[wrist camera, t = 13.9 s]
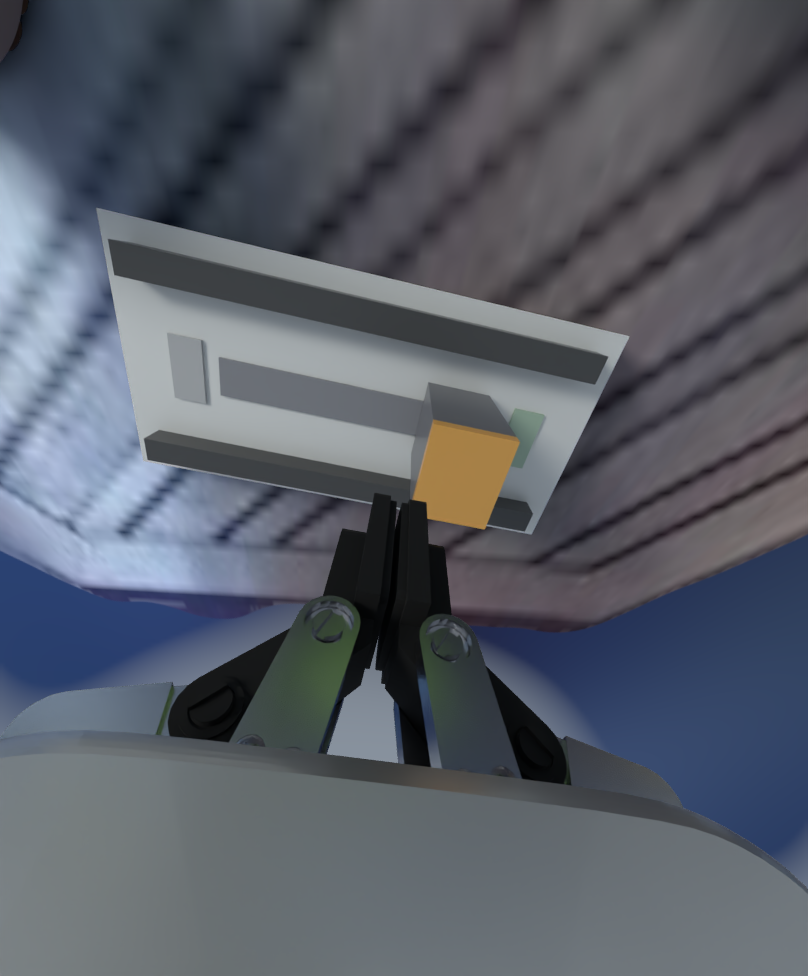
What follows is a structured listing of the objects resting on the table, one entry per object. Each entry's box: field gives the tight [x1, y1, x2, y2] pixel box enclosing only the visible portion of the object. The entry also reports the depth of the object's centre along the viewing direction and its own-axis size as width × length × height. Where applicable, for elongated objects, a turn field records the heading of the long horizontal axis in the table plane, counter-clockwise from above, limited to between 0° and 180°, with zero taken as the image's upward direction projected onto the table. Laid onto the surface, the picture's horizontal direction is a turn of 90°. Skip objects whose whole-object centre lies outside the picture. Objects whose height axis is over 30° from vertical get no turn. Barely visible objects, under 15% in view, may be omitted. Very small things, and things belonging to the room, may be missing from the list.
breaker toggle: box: [410, 382, 520, 529], centre depth 20 cm, size 5×4×8 cm
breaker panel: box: [96, 208, 630, 535], centre depth 24 cm, size 15×30×5 cm, turn 78°
